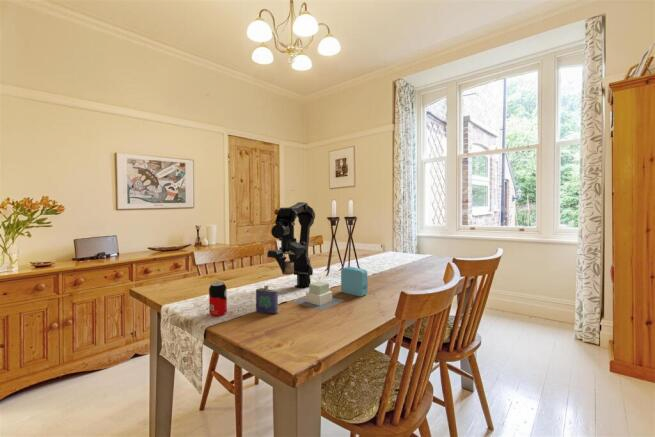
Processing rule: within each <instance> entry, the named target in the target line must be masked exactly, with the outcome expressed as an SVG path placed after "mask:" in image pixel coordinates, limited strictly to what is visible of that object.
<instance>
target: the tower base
mask: <svg viewBox="0 0 655 437" xmlns="http://www.w3.org/2000/svg"><path fill="white" fill-rule="evenodd" d="M332 297H333V291H331V290H329V292H327V293H324V294H321V295H318V294H314V293H310V292H309V291H306V292H305V298H306V302H309V303H312V304H316V305H319V306H321V305H323V304H325V303H328V302H330V301H332Z"/></svg>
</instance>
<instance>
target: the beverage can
mask: <svg viewBox="0 0 655 437" xmlns="http://www.w3.org/2000/svg"><path fill="white" fill-rule="evenodd" d="M225 283H226V282H224V281H214V282H211V283H210V286H209V288H208V300H209V301H208V302H209V303H208V304H209V314H210V315H211V316H212V317H221V315H222V316H224V315H225V314H226V313H227V312H228V303H227V302H228V301H227V300H228V297H227V296H228V295H227V286H226V284H225Z"/></svg>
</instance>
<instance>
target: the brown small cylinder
mask: <svg viewBox="0 0 655 437" xmlns="http://www.w3.org/2000/svg"><path fill="white" fill-rule="evenodd" d="M281 274H282V275H285V276H287V275H294V262H293V261H290V260H285V271H284V272H282V271H281Z"/></svg>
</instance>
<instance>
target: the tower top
mask: <svg viewBox="0 0 655 437" xmlns="http://www.w3.org/2000/svg"><path fill="white" fill-rule="evenodd" d="M308 290H309V291H308V292H310V293H314V294H318V295H321V294H324V293H327V292H329V291H330V283H329V282H324V281H319V280H318V281H315V282H310V284H309V287H308Z"/></svg>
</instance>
